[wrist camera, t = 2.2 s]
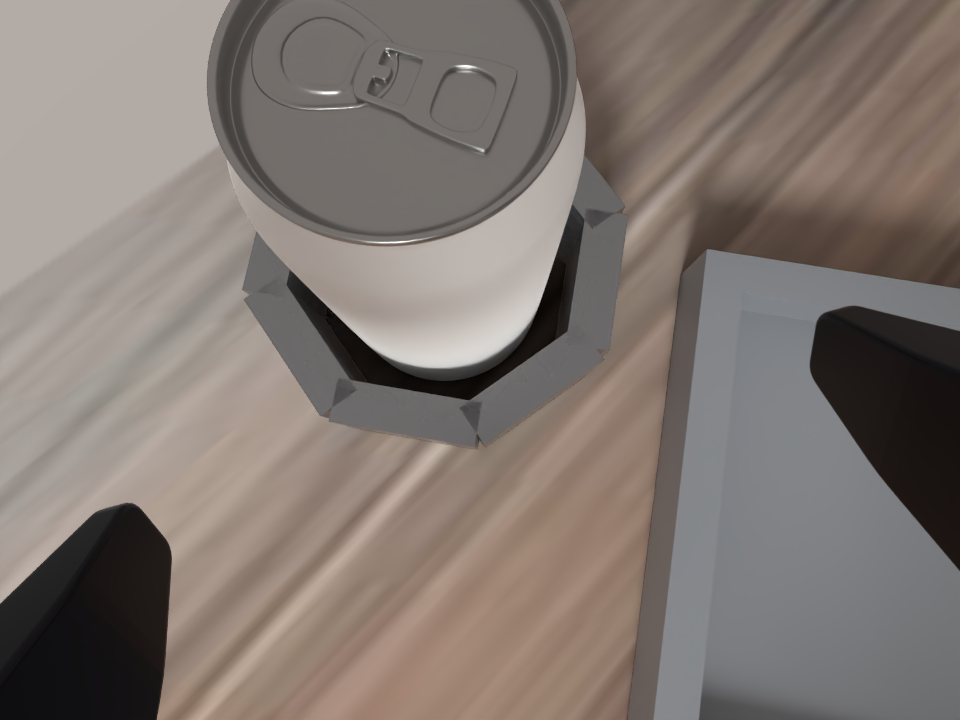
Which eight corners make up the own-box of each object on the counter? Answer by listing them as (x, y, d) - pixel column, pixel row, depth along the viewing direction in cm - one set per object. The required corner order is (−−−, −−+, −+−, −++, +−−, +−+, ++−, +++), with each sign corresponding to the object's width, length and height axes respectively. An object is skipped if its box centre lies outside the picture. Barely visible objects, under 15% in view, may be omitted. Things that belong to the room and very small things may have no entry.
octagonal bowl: (572, 466, 20) (593, 467, 16) (268, 413, 20) (214, 401, 16) (613, 177, 21) (642, 113, 17) (332, 134, 22) (298, 62, 18)
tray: (1162, 876, 17) (1273, 944, 15) (621, 770, 18) (642, 819, 16) (1152, 349, 20) (1246, 333, 18) (680, 274, 21) (706, 249, 18)
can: (393, 182, 21) (276, -162, 10) (562, 238, 21) (659, -51, 9) (326, 347, 20) (104, 191, 9) (503, 409, 20) (525, 335, 8)
